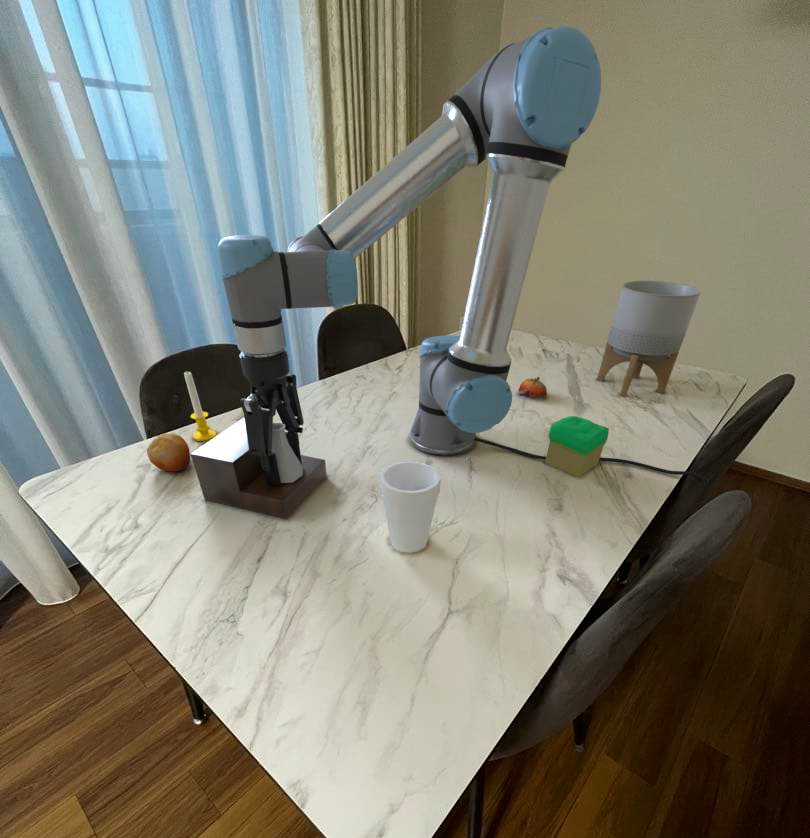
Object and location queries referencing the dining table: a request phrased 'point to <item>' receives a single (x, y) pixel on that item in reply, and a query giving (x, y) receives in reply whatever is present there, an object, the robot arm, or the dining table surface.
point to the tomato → (533, 387)
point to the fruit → (169, 452)
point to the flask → (285, 456)
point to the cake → (575, 444)
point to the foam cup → (409, 503)
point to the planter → (649, 329)
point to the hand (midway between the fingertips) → (284, 473)
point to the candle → (198, 413)
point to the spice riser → (250, 476)
